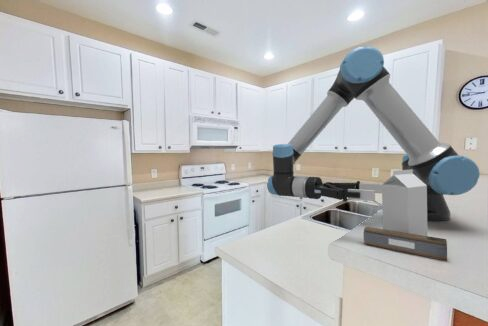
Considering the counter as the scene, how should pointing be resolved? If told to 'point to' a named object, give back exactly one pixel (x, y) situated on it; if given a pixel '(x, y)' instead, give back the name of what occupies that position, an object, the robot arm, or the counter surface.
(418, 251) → the price rail
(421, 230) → the milk carton
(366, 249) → the counter surface
